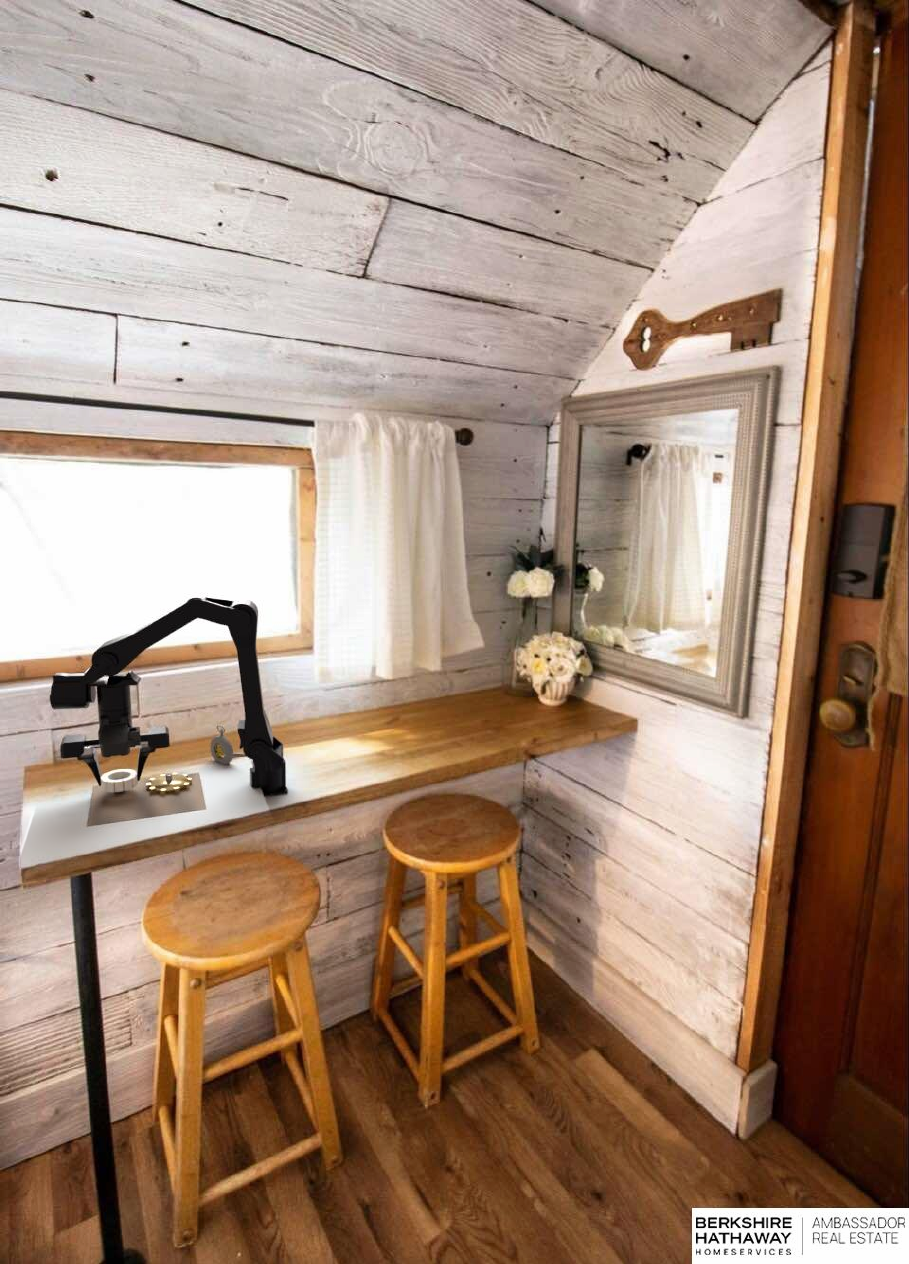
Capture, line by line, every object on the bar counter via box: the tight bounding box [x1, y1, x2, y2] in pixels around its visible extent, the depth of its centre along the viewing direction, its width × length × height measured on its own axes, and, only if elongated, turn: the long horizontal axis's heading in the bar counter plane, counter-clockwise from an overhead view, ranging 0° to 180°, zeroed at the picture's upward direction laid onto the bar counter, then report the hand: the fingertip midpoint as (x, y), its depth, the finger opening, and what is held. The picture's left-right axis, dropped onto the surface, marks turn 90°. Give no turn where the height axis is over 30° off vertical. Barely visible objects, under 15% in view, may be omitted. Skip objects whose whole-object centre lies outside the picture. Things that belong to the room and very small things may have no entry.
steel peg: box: [114, 778, 126, 795], centre depth 134 cm, size 2×2×3 cm
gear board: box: [86, 772, 207, 827], centre depth 133 cm, size 20×18×2 cm
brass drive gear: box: [146, 772, 192, 795], centre depth 138 cm, size 8×8×2 cm
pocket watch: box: [209, 725, 251, 765], centre depth 152 cm, size 8×8×10 cm
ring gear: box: [101, 768, 138, 792], centre depth 134 cm, size 6×6×2 cm
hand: (119, 782), depth 134 cm, fingers closed on ring gear, 6 cm apart
